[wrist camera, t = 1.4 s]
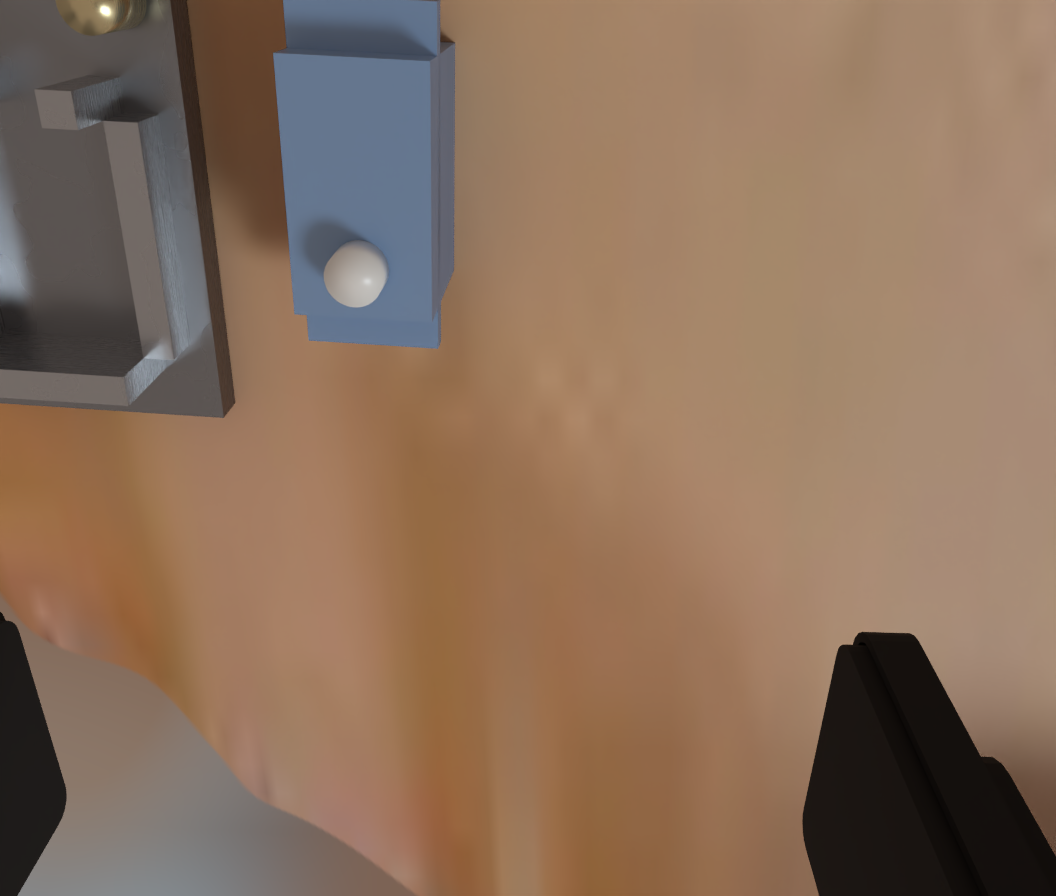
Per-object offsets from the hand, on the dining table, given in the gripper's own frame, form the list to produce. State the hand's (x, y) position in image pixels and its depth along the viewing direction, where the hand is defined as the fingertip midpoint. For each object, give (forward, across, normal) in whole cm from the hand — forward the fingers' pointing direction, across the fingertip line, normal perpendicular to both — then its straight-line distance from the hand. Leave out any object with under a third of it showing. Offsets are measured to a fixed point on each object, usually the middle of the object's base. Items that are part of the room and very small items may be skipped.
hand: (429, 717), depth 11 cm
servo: (+22, +4, -2) cm, 23 cm away
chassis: (+22, +14, -1) cm, 27 cm away
